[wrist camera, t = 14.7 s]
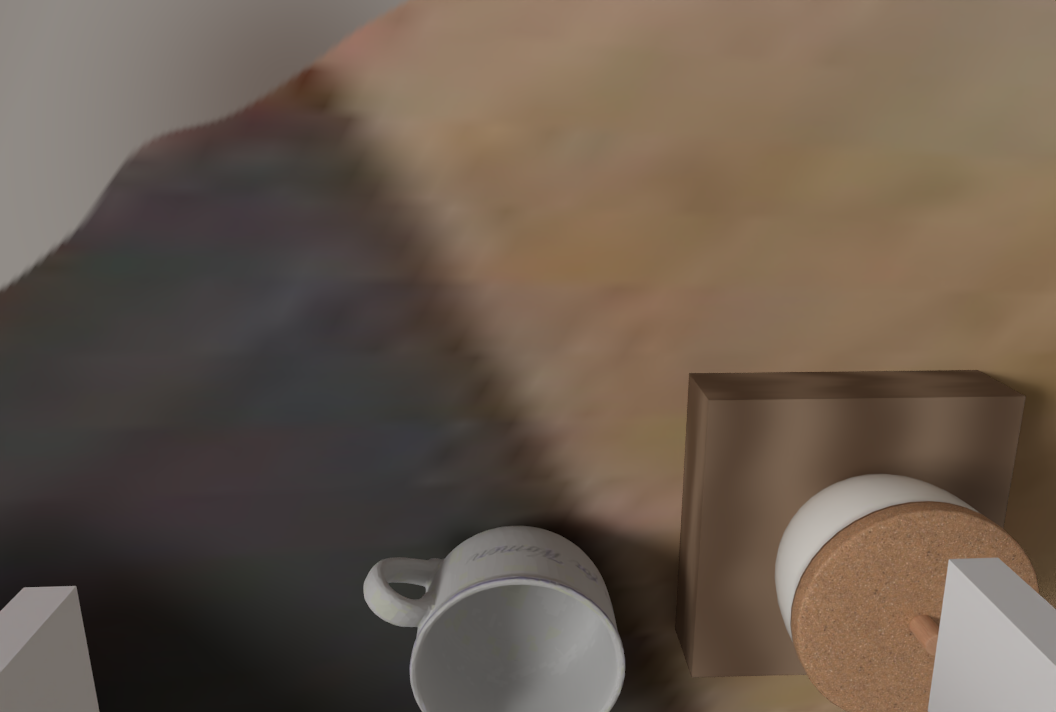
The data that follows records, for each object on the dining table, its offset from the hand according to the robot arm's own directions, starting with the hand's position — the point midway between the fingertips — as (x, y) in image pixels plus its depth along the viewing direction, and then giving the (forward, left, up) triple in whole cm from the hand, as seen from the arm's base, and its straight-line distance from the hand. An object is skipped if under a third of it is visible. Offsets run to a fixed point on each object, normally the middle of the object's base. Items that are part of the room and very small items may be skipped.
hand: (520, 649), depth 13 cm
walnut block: (+18, -14, -33) cm, 40 cm away
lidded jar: (+18, -14, -28) cm, 36 cm away
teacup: (-1, -18, -33) cm, 38 cm away
